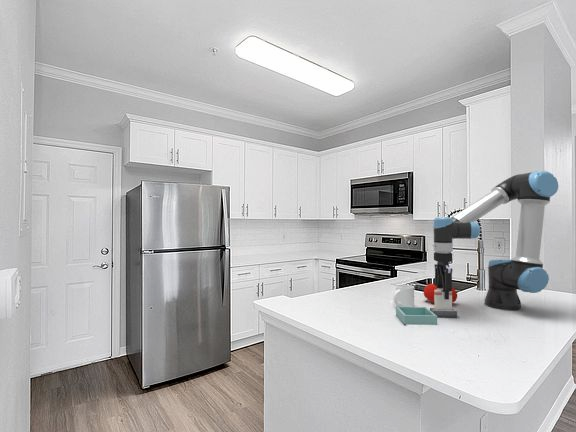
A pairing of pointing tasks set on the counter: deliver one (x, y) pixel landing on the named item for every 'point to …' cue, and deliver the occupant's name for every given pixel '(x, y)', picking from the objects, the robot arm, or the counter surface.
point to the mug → (404, 296)
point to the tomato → (430, 293)
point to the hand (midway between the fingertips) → (443, 304)
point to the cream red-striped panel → (439, 300)
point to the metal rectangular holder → (445, 313)
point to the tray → (416, 315)
